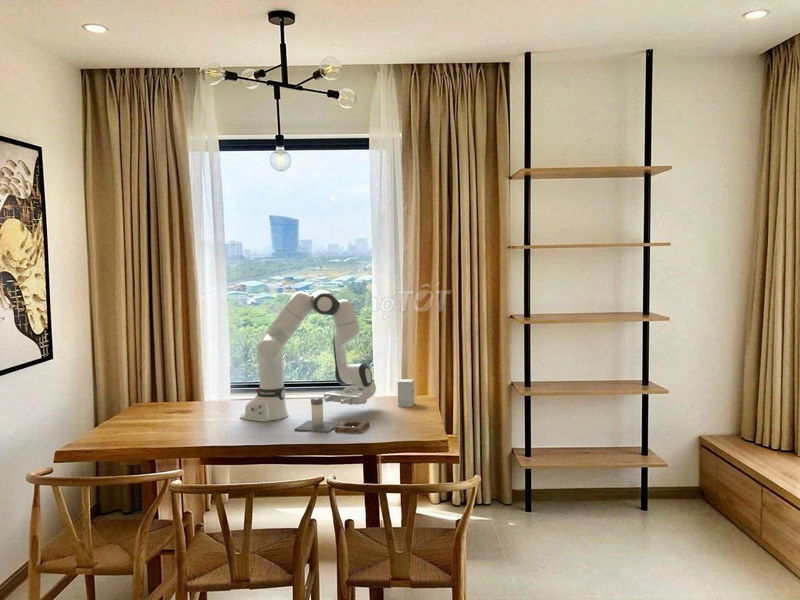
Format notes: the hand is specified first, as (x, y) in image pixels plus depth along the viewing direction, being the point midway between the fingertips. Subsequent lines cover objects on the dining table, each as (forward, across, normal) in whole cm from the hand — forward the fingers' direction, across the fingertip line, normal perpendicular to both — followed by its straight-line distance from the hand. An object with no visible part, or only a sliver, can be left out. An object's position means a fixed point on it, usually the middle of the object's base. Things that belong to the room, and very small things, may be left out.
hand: (333, 401), depth 288 cm
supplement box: (-41, +14, +10) cm, 44 cm away
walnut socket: (+7, +15, +9) cm, 19 cm away
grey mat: (+12, 0, +9) cm, 15 cm away
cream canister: (+12, 0, +8) cm, 14 cm away
